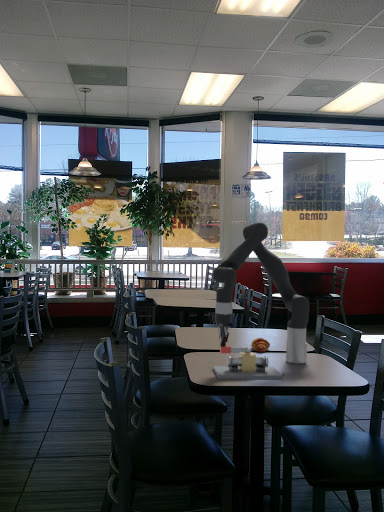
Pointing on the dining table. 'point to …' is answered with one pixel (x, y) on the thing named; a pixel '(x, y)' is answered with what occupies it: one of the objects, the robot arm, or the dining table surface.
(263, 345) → the croissant
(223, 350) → the lever
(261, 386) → the dining table surface
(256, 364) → the valve pipe
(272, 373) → the slate board
